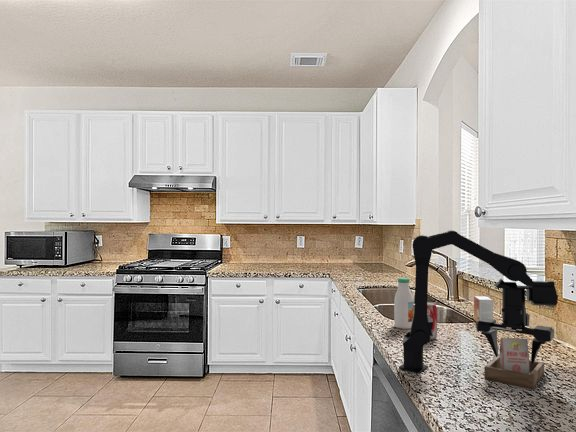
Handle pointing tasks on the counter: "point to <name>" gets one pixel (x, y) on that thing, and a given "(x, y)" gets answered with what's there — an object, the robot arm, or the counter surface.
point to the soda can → (432, 314)
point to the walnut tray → (514, 374)
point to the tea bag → (514, 355)
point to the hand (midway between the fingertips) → (514, 359)
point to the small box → (483, 308)
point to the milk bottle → (403, 305)
